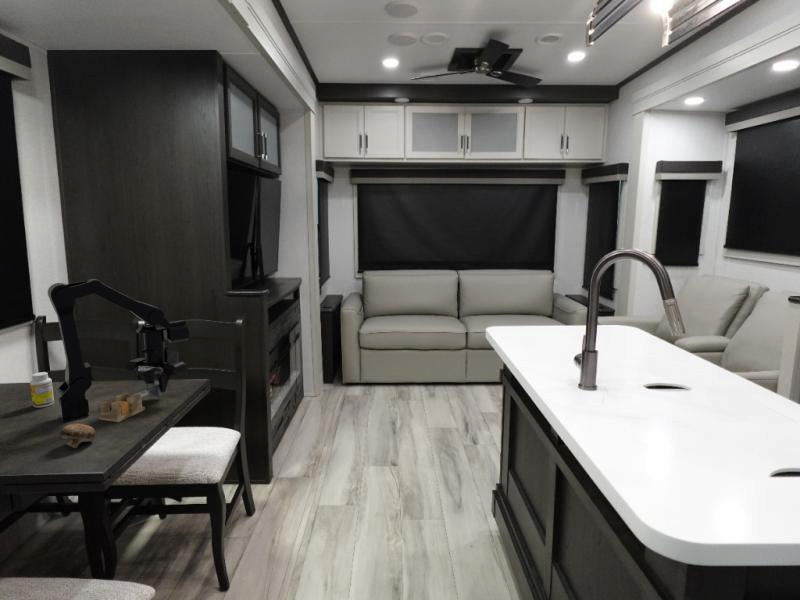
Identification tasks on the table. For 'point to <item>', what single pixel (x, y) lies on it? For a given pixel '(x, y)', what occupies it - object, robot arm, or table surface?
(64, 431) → the mushroom
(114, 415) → the bearing block
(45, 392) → the supplement bottle
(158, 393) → the shaft
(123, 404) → the block
